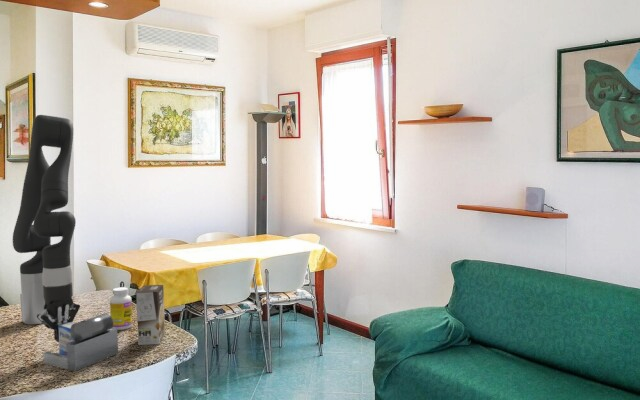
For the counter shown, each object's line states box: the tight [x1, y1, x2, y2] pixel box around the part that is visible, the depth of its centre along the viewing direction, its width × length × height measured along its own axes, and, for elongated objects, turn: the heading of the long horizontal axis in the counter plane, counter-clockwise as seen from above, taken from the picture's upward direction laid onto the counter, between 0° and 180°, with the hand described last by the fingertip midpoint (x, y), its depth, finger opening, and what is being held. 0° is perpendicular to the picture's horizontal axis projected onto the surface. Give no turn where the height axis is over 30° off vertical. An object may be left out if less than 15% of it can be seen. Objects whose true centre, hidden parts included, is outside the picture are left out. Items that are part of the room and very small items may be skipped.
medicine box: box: [58, 321, 75, 356], centre depth 157 cm, size 8×4×9 cm, turn 58°
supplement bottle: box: [109, 286, 133, 331], centre depth 182 cm, size 7×7×13 cm
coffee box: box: [135, 284, 166, 346], centre depth 169 cm, size 9×6×16 cm
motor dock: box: [43, 312, 119, 372], centre depth 155 cm, size 14×14×12 cm
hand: (60, 341), depth 159 cm, fingers closed
